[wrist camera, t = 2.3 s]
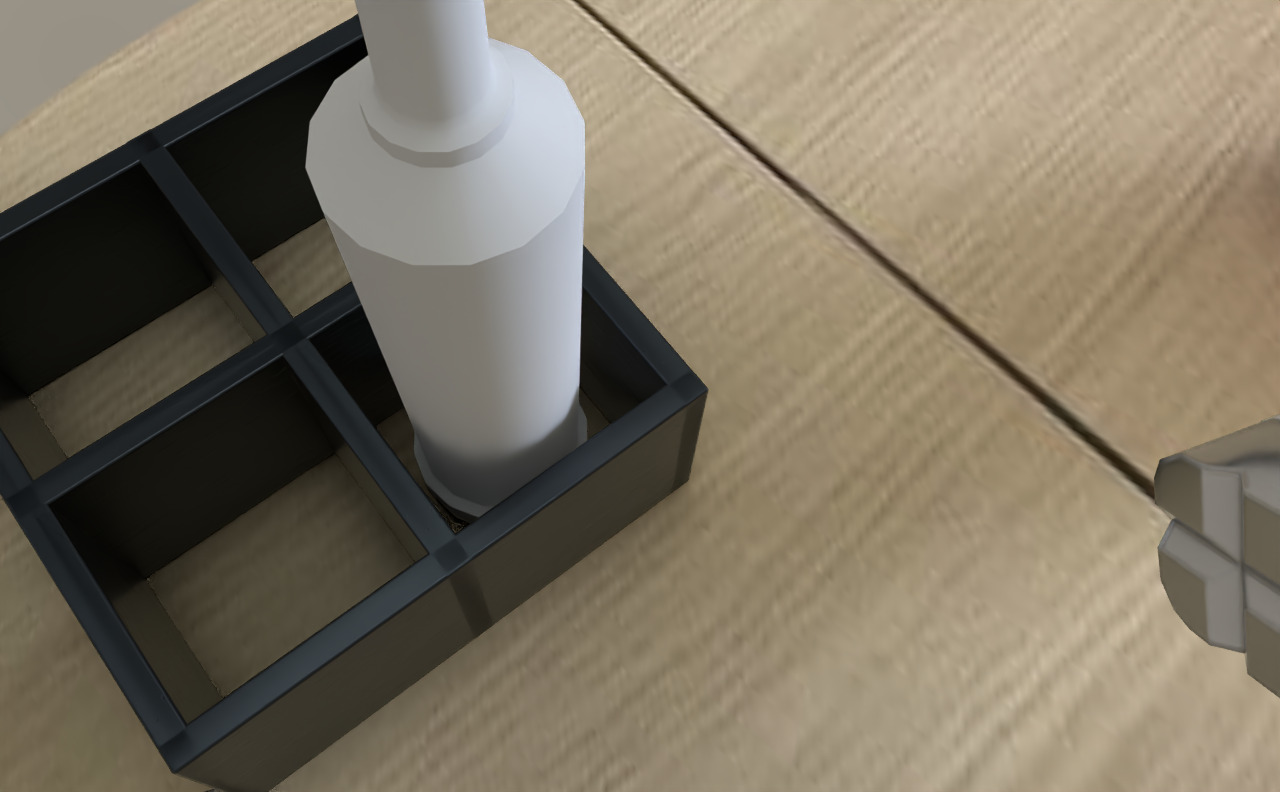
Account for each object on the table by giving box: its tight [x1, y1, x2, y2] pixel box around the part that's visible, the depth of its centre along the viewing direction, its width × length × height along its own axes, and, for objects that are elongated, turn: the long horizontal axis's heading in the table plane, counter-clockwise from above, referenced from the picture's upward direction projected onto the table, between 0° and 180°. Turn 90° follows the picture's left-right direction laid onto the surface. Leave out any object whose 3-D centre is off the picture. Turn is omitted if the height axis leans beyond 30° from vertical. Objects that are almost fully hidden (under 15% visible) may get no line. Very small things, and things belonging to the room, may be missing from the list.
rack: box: [0, 14, 708, 792], centre depth 35 cm, size 15×15×7 cm
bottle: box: [305, 0, 587, 523], centre depth 26 cm, size 5×5×25 cm
